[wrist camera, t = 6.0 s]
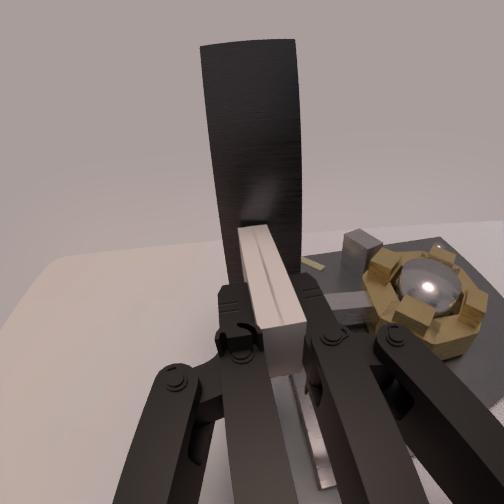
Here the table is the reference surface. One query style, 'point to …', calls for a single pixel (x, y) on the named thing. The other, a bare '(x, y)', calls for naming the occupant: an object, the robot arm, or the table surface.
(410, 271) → the flange
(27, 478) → the table surface
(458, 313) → the grey and tan piece
